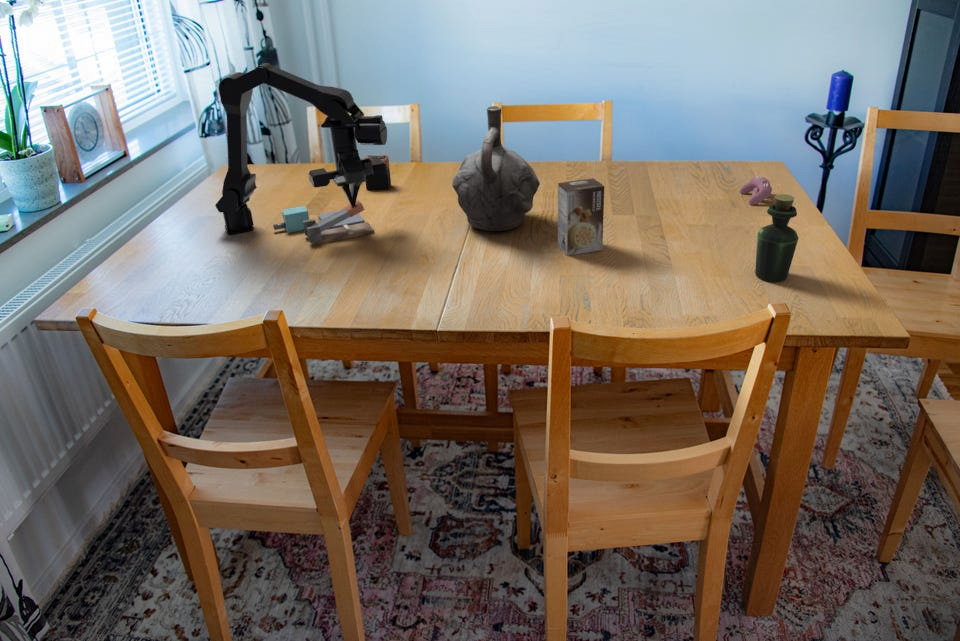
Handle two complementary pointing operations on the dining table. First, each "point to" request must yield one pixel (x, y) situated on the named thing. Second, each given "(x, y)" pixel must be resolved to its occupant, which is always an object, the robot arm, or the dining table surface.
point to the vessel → (495, 182)
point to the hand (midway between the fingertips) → (353, 205)
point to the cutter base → (334, 232)
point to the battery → (380, 181)
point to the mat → (349, 221)
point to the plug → (293, 219)
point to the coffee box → (580, 216)
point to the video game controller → (757, 189)
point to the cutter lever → (340, 216)
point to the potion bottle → (777, 241)
